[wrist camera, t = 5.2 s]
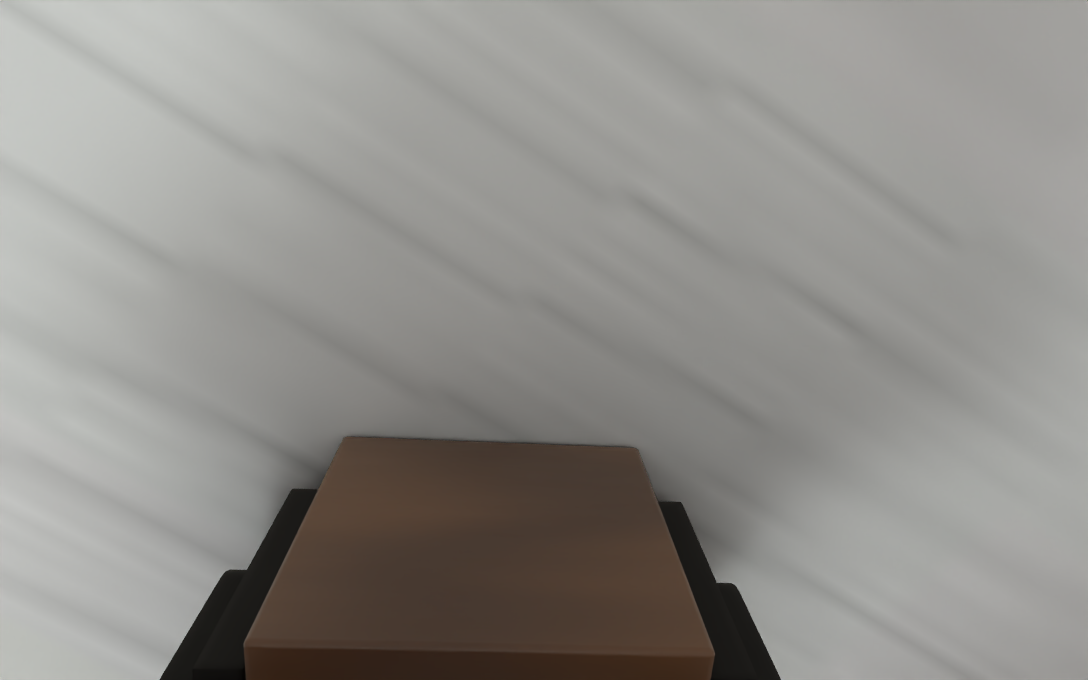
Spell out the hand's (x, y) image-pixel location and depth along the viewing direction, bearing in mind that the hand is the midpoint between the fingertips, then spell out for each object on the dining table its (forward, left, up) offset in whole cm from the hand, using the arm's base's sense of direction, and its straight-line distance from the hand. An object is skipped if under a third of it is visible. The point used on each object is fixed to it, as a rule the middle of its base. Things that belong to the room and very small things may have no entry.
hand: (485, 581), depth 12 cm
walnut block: (0, 0, 0) cm, 0 cm away
